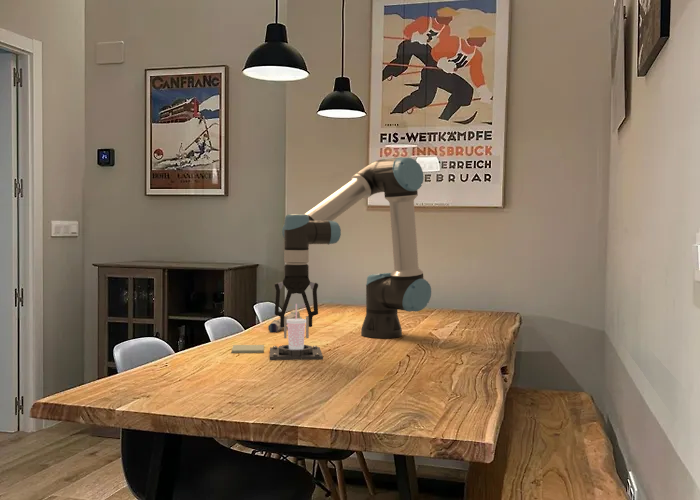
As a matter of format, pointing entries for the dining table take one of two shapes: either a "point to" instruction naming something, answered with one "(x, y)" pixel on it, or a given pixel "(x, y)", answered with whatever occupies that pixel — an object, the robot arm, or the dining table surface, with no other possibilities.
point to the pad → (248, 349)
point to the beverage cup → (296, 332)
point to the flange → (295, 353)
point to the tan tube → (276, 323)
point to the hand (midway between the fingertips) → (296, 337)
